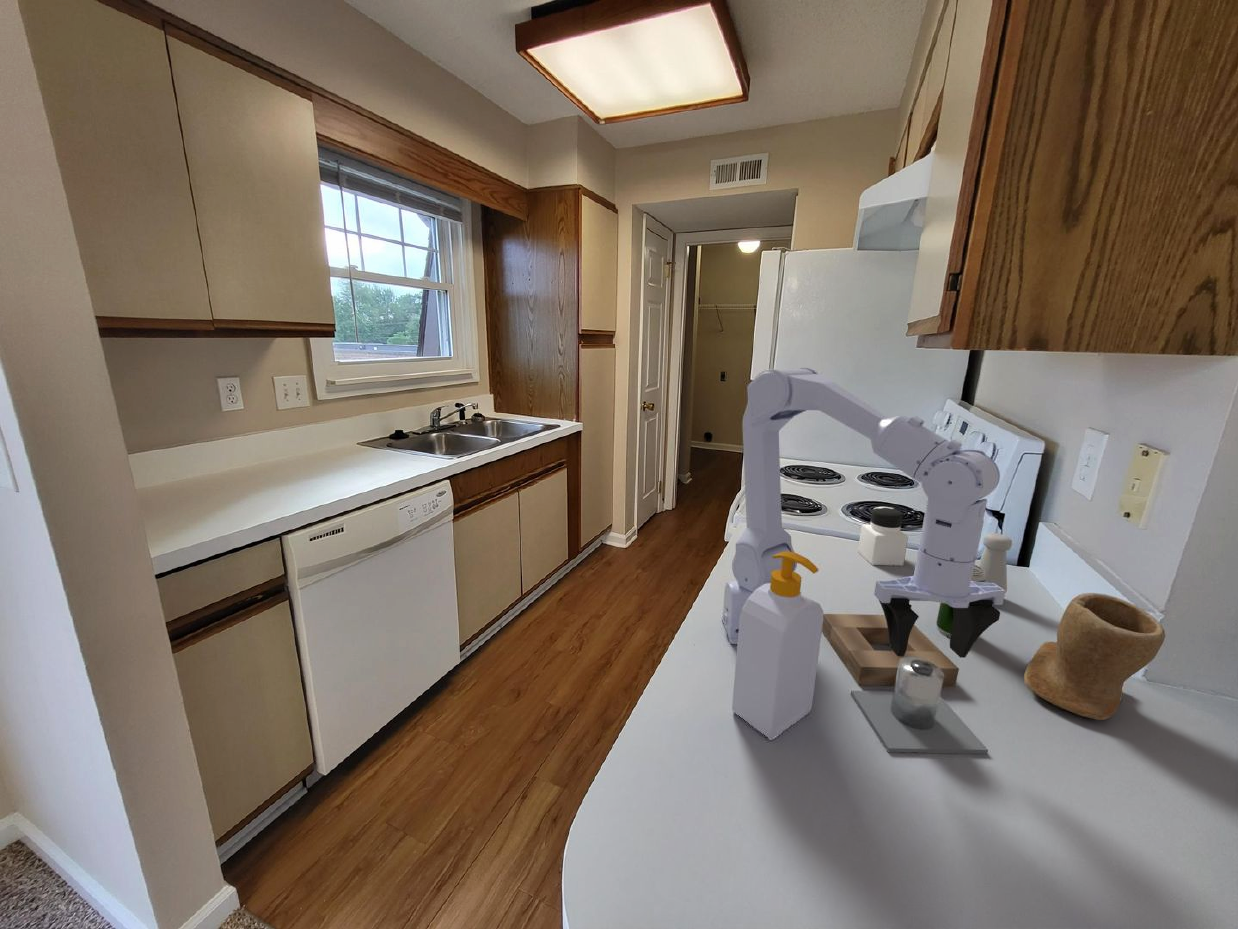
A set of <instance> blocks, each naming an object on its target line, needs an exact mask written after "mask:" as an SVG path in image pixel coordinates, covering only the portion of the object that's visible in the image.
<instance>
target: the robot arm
mask: <svg viewBox="0 0 1238 929" xmlns="http://www.w3.org/2000/svg"><path fill="white" fill-rule="evenodd" d="M746 387H747V388H746V389H747V390H746V391H747V404H746V407H745V409H744V410H745V411H744V414H743V417H742V425H741V426H742V446H743V466H744V467H743V468H744V470H743V471H744V472H743V473H744V493H745V494H744V495H745V496H744V497H745V516H746V518H745V519H746V529H744V531H743V532H742V533H741V535H740V536H739V538H738V539H737V541H736V542H735V554H734V556H733V558H732V562H731V569H732V575H733V577H734V581H729V582H726V583H725V586H724V595H723V607H722V615H721V620H723V621H722V624H723V623H724V624H723V626H724V629H725V632H726V634H728V635H727V638H728V641H729V642H730V644H732V645H737V643H738V632H739V620H740V616H741V612H742V609H743V607H744V605H745V603H746V601H747V599H748V598H749V597H750V596H751V594H752V593H753V592H754V591H755V590H756V589H758V588H759V587H761V586H762V585H764V584H767V583H771V574H772V572H773V571H774V570H781V569H782V560H783V558H775V559H773V556H774V555H776V554H779V553H781V552H785V551H790V552H794V553H796V552H795V551H794V548H793V544H792V536H791V534H790V533H789V532H788V531H786V530H785V528H783V525H782V524H783V522H782V521H783V519H782V516H783V515H782V491H781V489H782V488H781V463H780V462H781V461H780V460H781V459H780V457H781V456H780V430H782V429H783V428H784V427H785V426H786V424H788V423H789V422H790V421H791V420H792V419H793V418H795V417H796V416H798V415H800V414H802V413H804V412H806V411H820V412H822V413H823V414H825V415H827V416H829V417H831V418H832V419H834V420H835V421H838V422H839V423H841V424H843V425H845V426H846V427H847V428H850V429H852V430H854V432H857V433H859V434H860V435H863V437H866V438H868V439H869V440H870V443H871V448H872V449H871V450H872V452H873V453H874V454H875V455H876V456H878V457H880V458H881V459H883V460H884V461H886V462H887V463H889V464H890V465H892V466H894V468H896V469H898V470H899V471H902V473H903V474H906V475H907V476H909V477H911V478H912V479H913V480H915V481H917V482H918V483H921V487H922V489H923V490H922V491H923V492H924V493H925V495H926V498H927V504H926V508H925V511H924V515H923V516H924V517H923V523H922V528H921V534H920V538H919V539H920V540H919V544H918V548H917V554H916V555H917V556H916V560H915V565H914V573H913V575H909V576H904V577H900V578H895V579H889V580H876V581H875V586H874V593H873V595H874V596H875V597H876V599H878V601H879V603H880V606H881V609H882V611H883V613H884V614H883V615H885V618H886V622H887V626H888V632H889V641H890V644H889V648H890V649H891V651H894V653H895V654H896V655H897V656H899V657H904V655H905V652H906V649H907V644H908V639H909V635H910V632H911V630H912V628H913V625H915V623H916V622H917V620H918V619H919V617H920V616H919V615H918V614H917V613H916V611H914V609H912V604H910V602H911V601H912V602H913V601H914V602H915V601H916V602H936V603H939V604H940V603H945V604H948V605H949V606H951V607H953V625H952V630H951V636H950V637H949V648H950V650H951V651H953V652H954V653H955V654H956V655H957V656H958V657H959V658H963V659H965V658H967V655H968V653H969V652H970V651H971V649H972V648H973V646H974V644H975V643H976V642H977V640H978V639H979V638H980V636H981V635H982V634H983V633H985V631H986V630H987V629H988V628H990V626H992V625H993V624H995V623H996V622H998V621H1000V616H1001V611H1000V610H999V609H997V608H996V607H994V606H1003V604H1004V600H1005V596H1006V593H1007V591H1005V590H1004V589H1002V588H1001V587H999V586H998V585H996V584H995V583H984V582H976V581H971V579H972V574H973V570H974V565H976V559H977V555H978V550H979V546H980V542H981V536H982V531H983V529H984V528H983V527H984V523H985V522H984V520H985V519H984V518H985V512H986V509H987V504H988V498H985V497H987V496H989V495H990V494H991V493H992V492H994V490H996V488H997V487H998V485H999V483H1000V479H1001V474H1000V470H999V467H998V465H997V463H996V462H995V460H993V459H992V457H990V456H988V455H987V454H986V453H985V452H984V451H983V450H980V449H974V448H968V449H967V448H966V449H961V448H962V446H963V443H961V442H960V441H958V440H956V439H952V440H948V439H947V438H945V437H943V436H941V435H939V434H938V433H936V432H934V431H932V430H930V429H929V428H928V427H925V426H924V423H925V420H924V419H922V418H920V417H918V416H910V417H908V416H906V415H902V414H901V415H897V416H893V417H887V416H886V415H885V414H884V413H881V412H880V411H879V410H877V409H876V408H874V407H872V406H871V405H870V404H867V402H865V401H863V400H862V399H860V398H859V397H857V396H855V395H854V394H853V393H851V392H850V391H848V390H846V389H845V388H844V387H842V386H840V384H838V383H836V382H835V381H833V379H832V378H831V377H830V376H828V375H825V374H822V373H819V372H818V371H817V370H815V369H813V368H811V367H801V368H796V369H795V368H792V369H790V368H789V369H774V368H768V369H765V370H762V371H761V372H760V373H758V374H757V375H756V376H755V378H753V380H751V382H749V384H748V385H747V386H746ZM797 566H798V563H796V562H793V572H795V571H796V569H797ZM1005 592H1006V593H1005ZM993 605H994V606H993Z"/></svg>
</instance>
